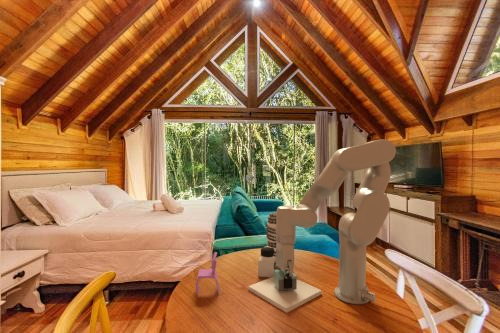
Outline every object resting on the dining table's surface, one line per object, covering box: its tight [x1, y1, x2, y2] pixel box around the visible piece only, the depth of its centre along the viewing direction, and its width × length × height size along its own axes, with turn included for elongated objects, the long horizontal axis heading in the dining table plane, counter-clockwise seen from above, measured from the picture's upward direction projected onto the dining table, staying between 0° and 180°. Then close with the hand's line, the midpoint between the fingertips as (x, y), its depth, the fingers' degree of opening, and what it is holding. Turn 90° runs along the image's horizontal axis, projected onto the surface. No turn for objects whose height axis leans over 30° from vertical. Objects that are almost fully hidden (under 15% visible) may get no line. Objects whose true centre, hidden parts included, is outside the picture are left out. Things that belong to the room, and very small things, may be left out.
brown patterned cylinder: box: [265, 212, 278, 267], centre depth 131 cm, size 9×9×25 cm
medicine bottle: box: [257, 245, 277, 279], centre depth 118 cm, size 7×7×12 cm
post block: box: [247, 277, 322, 314], centre depth 102 cm, size 20×20×6 cm
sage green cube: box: [274, 269, 298, 290], centre depth 102 cm, size 7×7×5 cm
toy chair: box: [195, 251, 220, 297], centre depth 102 cm, size 8×9×15 cm
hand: (284, 283), depth 102 cm, fingers closed on sage green cube, 7 cm apart
